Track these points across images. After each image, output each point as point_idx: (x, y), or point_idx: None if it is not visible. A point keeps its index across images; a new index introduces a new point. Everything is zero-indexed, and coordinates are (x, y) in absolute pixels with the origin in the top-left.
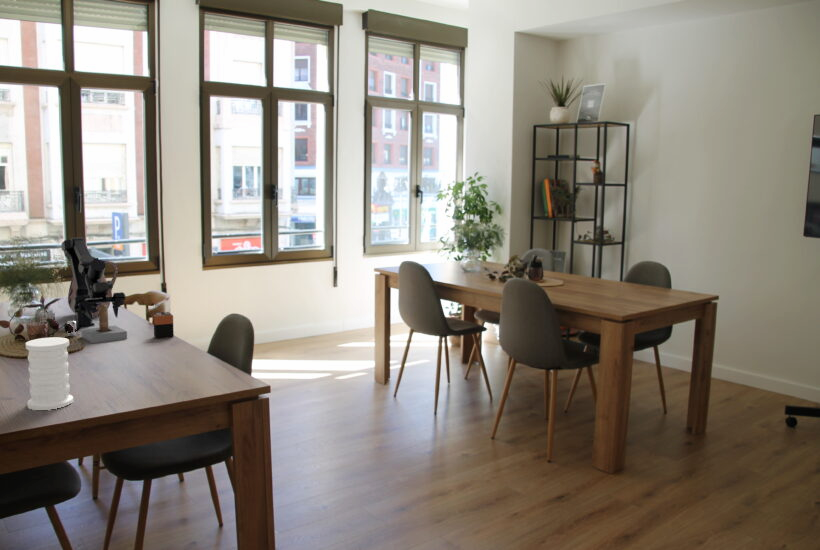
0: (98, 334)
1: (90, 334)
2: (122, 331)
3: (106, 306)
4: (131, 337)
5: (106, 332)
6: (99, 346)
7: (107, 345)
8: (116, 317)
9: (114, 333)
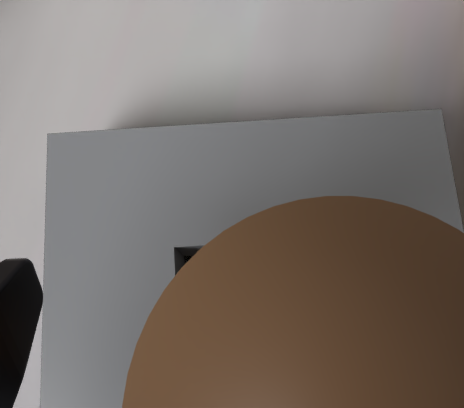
0: (367, 131)
1: (449, 176)
2: (92, 145)
3: (216, 247)
4: (24, 196)
5: (264, 189)
6: (369, 6)
7: (303, 7)
8: (34, 295)
9: (192, 126)
